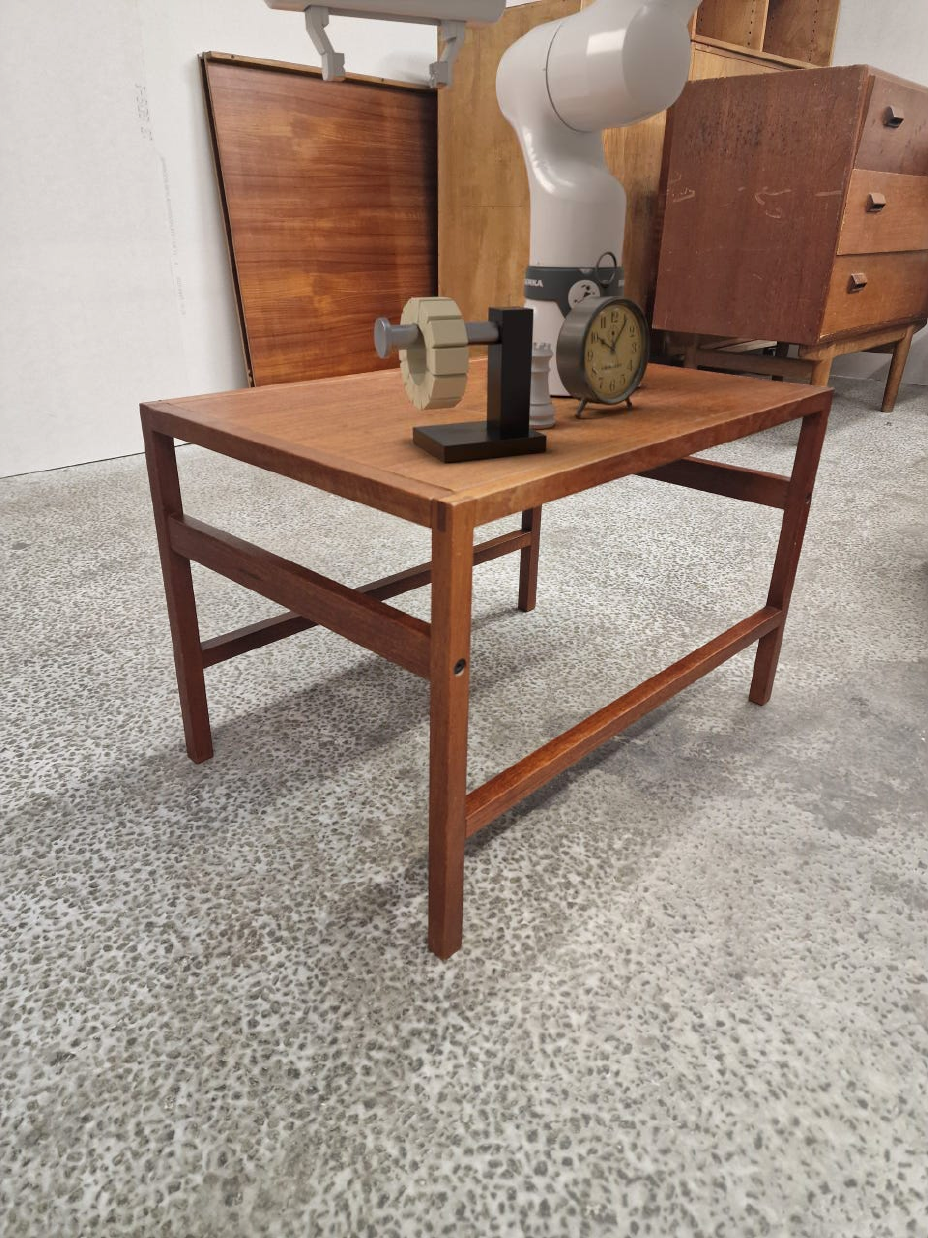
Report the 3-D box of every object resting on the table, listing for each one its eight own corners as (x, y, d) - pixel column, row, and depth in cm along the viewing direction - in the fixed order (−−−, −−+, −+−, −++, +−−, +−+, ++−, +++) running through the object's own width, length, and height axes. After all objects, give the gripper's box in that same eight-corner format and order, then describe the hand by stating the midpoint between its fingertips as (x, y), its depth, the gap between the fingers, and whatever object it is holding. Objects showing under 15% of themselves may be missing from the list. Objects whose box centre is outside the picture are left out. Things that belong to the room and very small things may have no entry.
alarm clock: (580, 422, 84) (591, 252, 77) (543, 414, 88) (551, 251, 81) (647, 409, 90) (663, 250, 83) (610, 401, 94) (622, 249, 87)
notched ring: (400, 399, 74) (397, 294, 70) (430, 396, 75) (429, 293, 71) (435, 418, 67) (434, 302, 63) (468, 415, 68) (469, 301, 64)
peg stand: (507, 433, 79) (510, 303, 74) (546, 452, 73) (553, 311, 67) (371, 446, 74) (364, 308, 69) (399, 468, 68) (394, 317, 62)
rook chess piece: (553, 420, 85) (557, 340, 81) (559, 429, 81) (563, 346, 77) (511, 420, 85) (513, 340, 81) (514, 429, 81) (517, 346, 77)
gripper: (251, -174, 55) (272, 68, 61) (518, -125, 62) (512, 86, 68) (236, -139, 60) (257, 81, 66) (484, -98, 67) (482, 96, 73)
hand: (388, 84), depth 67 cm, fingers open, 8 cm apart
